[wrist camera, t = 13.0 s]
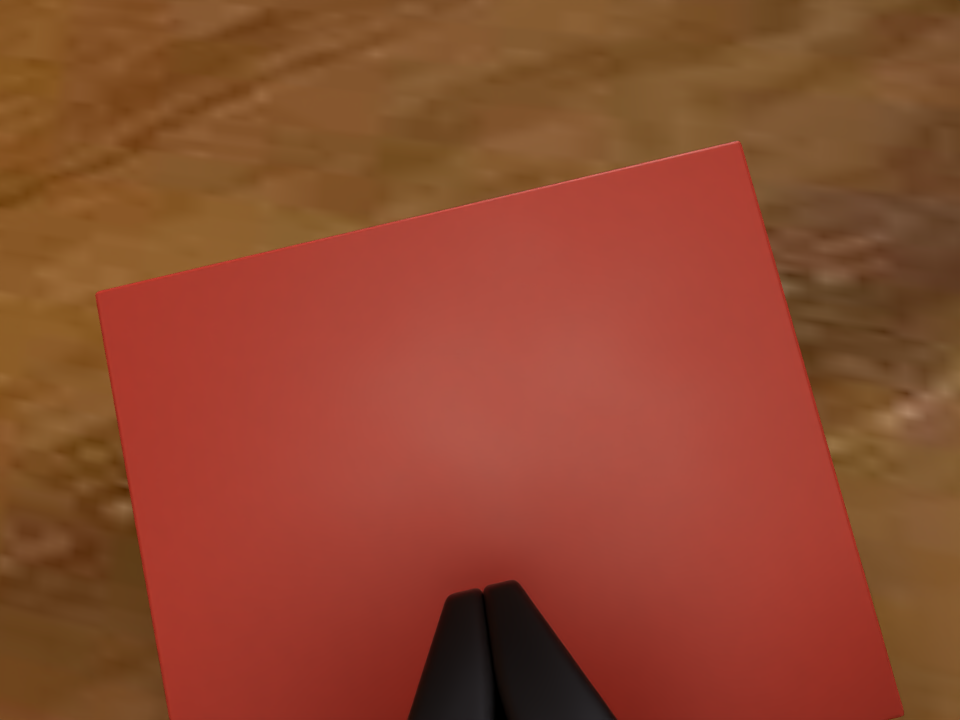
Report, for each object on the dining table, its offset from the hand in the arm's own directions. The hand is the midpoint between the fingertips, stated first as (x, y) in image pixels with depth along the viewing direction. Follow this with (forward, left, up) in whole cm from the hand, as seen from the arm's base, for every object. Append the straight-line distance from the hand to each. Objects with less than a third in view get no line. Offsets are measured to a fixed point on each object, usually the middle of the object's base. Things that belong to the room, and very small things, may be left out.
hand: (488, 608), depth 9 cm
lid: (+1, +1, -6) cm, 6 cm away
